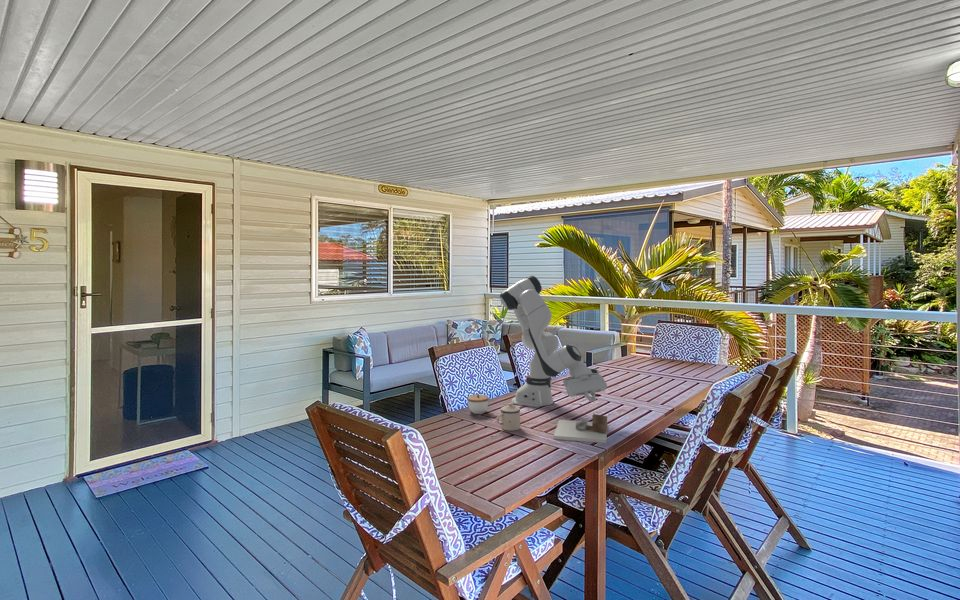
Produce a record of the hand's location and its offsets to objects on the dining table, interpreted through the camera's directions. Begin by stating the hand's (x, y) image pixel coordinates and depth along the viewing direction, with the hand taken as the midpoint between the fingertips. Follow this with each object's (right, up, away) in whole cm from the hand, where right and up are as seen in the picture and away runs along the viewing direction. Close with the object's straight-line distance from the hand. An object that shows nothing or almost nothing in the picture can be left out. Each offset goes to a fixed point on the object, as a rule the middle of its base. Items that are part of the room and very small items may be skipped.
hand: (593, 401), depth 232 cm
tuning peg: (-3, -11, -10) cm, 15 cm away
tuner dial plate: (-7, -12, -7) cm, 16 cm away
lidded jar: (-53, -11, +25) cm, 60 cm away
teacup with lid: (-39, -13, -1) cm, 41 cm away
